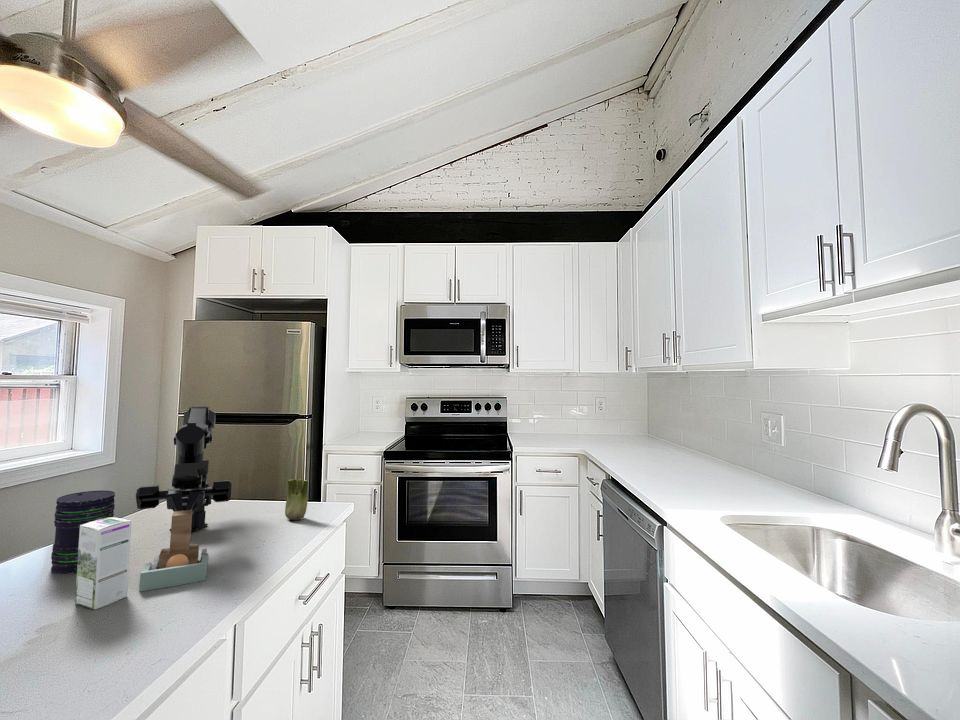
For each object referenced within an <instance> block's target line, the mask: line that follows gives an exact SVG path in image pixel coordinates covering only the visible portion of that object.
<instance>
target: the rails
mask: <svg viewBox="0 0 960 720" xmlns="http://www.w3.org/2000/svg"><path fill="white" fill-rule="evenodd" d="M207 551H208V548H202V549H201V554H200V560H199V563H202V557H203V555H208V552H207ZM159 555H160V554H159ZM159 555H155V556H154V557H153V560H152V562H151V563H152V566H151V570H156V569H158V567H159Z"/></svg>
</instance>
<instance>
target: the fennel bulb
mask: <svg viewBox="0 0 960 720" xmlns="http://www.w3.org/2000/svg"><path fill="white" fill-rule="evenodd" d="M287 482H288V483H287V488H288V489H287V497H286V502H285V507H284V508H285V509H284V515H285V517H286V518H287V519H288V520H291V521H298V520H303V519H304V517H305V515H306V513H307V509H308V487H309V480H306V479H304V480H303V479H295V478H294V479H288V480H287Z"/></svg>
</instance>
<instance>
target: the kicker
mask: <svg viewBox="0 0 960 720" xmlns="http://www.w3.org/2000/svg"><path fill="white" fill-rule="evenodd" d="M172 512H173V511H172ZM191 523H192V510H185V511H175V512H173V513H172V515H171V524H170V527H171V528H170V529H171V531H170V537H169V538H170V539H169V541H170V542H169V547H165V548H164V547H163V548H161V550H160V553H159V564H158V567H157V569H163V568H166V563H167V561H168V560H169V559H170V558H171V557H172V556H174V555H177V554H183V555H185V556H187V558H188V560H189V563H188V565H189V564H196V563H199V562H198V560H199V553H200V543H195V544H191V539H192V538H191V535H192V532H191Z"/></svg>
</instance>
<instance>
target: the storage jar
mask: <svg viewBox="0 0 960 720" xmlns="http://www.w3.org/2000/svg"><path fill="white" fill-rule="evenodd" d="M115 497H116V492H115V491H113V490H89V491H80V492H74V493H69V494H65V495H61V496H59V497H57V498H56V499H55V500H56V502H55V503H56V505H55V511H54V522H53V523H54V527H55V533H54V534H55V535H54V542H53V545H52V552H51V554H50V555H51V556H50V560H51V568H50V572H51V573H52V574H54V575H75V574H77V564H78V547H79V532H80V525H83V524H86V523H89V522H92V521H95V520H99V519H103V518H108V517H114V515H115V512H114V510H115V507H116V506H115Z"/></svg>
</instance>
